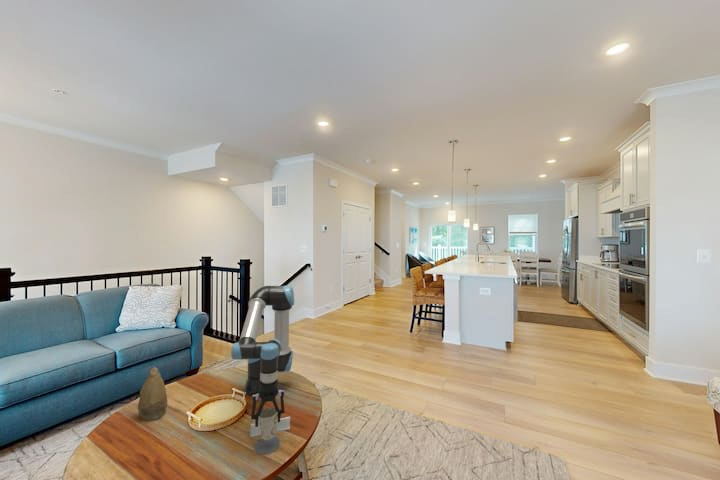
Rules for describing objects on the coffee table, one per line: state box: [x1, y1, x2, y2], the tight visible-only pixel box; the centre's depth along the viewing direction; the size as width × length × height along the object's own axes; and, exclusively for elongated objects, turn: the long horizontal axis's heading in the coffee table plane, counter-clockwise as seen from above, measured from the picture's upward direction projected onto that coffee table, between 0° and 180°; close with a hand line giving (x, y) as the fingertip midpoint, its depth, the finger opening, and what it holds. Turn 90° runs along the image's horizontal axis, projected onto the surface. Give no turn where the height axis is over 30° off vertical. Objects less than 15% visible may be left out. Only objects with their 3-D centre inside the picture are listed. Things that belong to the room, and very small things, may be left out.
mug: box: [253, 407, 278, 440], centre depth 127 cm, size 8×13×10 cm, turn 67°
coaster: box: [253, 435, 281, 456], centre depth 127 cm, size 11×11×1 cm
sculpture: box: [137, 366, 168, 421], centre depth 145 cm, size 12×11×25 cm
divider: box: [250, 416, 291, 439], centre depth 136 cm, size 3×18×5 cm, turn 111°
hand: (267, 431), depth 127 cm, fingers closed on mug, 7 cm apart
